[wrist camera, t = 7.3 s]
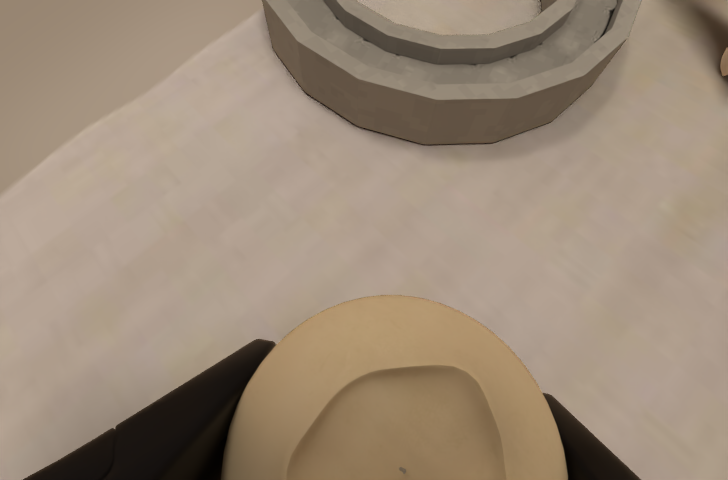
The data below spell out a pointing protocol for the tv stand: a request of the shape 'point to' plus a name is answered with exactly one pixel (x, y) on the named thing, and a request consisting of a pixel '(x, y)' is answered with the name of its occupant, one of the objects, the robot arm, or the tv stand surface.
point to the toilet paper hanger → (724, 63)
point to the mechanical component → (447, 66)
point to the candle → (392, 402)
